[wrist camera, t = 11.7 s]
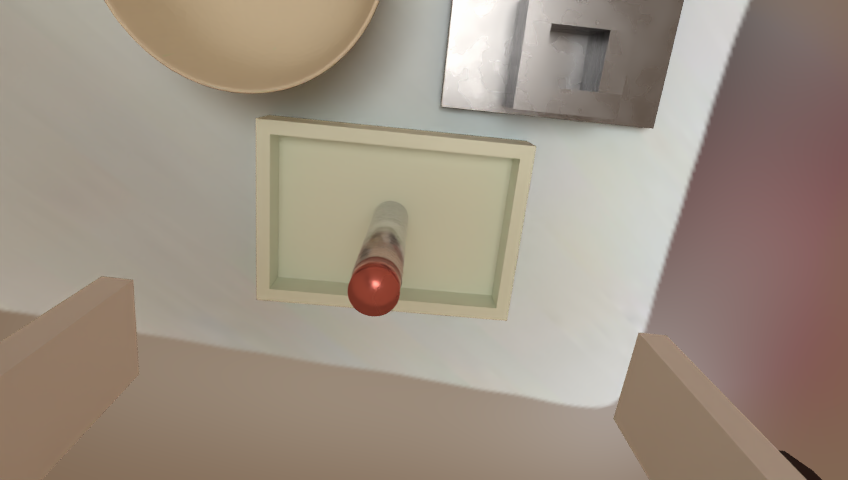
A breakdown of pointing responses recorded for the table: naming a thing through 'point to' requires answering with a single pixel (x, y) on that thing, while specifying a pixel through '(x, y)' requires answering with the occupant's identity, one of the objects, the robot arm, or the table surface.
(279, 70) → the bowl
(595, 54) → the block
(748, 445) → the robot arm
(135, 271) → the table surface
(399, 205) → the pin
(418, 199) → the tray
